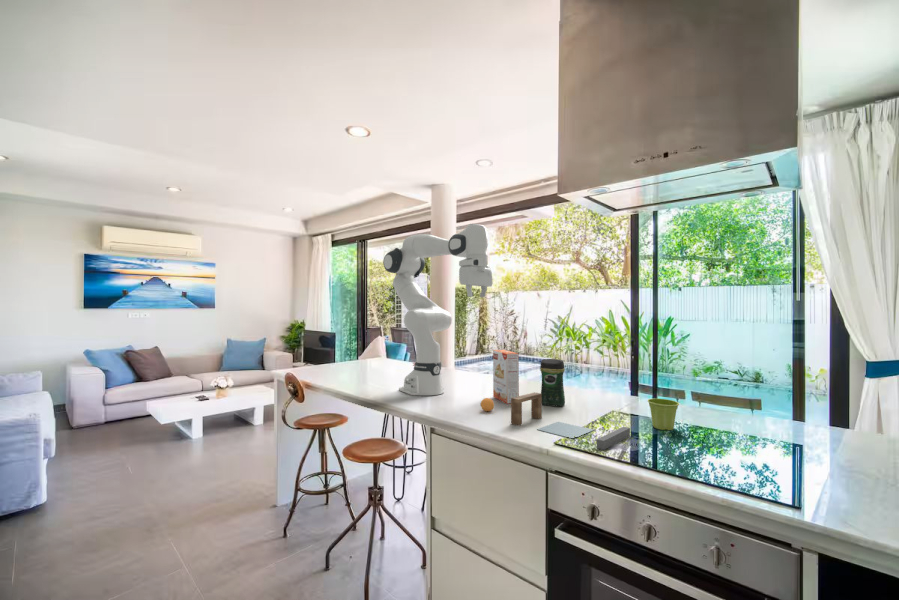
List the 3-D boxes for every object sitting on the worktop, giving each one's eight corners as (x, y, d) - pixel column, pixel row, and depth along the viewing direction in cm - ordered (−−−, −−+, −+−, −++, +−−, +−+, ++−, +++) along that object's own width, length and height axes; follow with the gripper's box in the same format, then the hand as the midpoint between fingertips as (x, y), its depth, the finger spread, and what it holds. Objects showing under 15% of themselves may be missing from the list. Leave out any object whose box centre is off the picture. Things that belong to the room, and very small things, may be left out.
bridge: (511, 423, 140) (511, 398, 140) (534, 416, 149) (534, 392, 150) (518, 425, 138) (518, 399, 138) (541, 417, 147) (541, 393, 147)
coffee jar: (566, 403, 169) (566, 358, 170) (562, 408, 162) (562, 360, 163) (543, 401, 174) (543, 357, 174) (538, 405, 167) (538, 359, 167)
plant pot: (684, 428, 135) (684, 402, 135) (671, 434, 129) (671, 406, 129) (655, 422, 142) (655, 397, 143) (642, 427, 137) (642, 401, 137)
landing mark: (536, 429, 133) (536, 429, 133) (558, 422, 142) (558, 421, 142) (573, 439, 124) (573, 438, 124) (593, 430, 133) (593, 429, 133)
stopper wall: (596, 448, 116) (596, 439, 116) (623, 434, 128) (623, 426, 128) (603, 449, 114) (603, 440, 114) (630, 436, 127) (630, 427, 127)
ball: (478, 411, 156) (478, 398, 156) (486, 409, 160) (486, 396, 160) (488, 413, 153) (488, 400, 153) (496, 411, 156) (496, 398, 156)
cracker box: (492, 397, 181) (492, 349, 182) (504, 396, 183) (504, 349, 183) (505, 404, 168) (506, 353, 168) (519, 403, 170) (519, 352, 170)
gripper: (483, 265, 179) (483, 297, 178) (456, 261, 162) (456, 296, 162) (496, 264, 175) (496, 297, 175) (469, 260, 158) (469, 296, 158)
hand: (476, 296), depth 168 cm, fingers open, 8 cm apart
